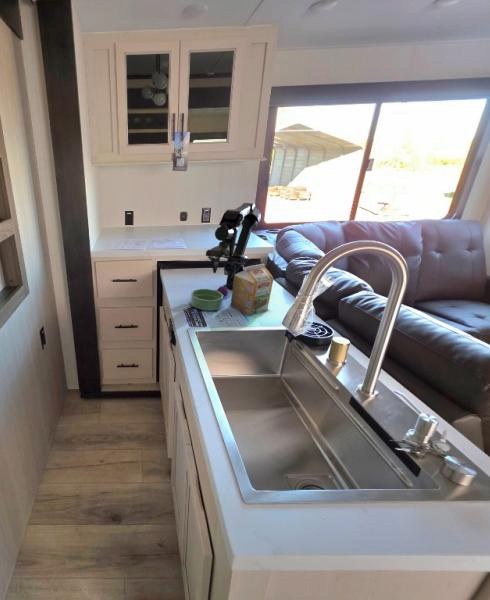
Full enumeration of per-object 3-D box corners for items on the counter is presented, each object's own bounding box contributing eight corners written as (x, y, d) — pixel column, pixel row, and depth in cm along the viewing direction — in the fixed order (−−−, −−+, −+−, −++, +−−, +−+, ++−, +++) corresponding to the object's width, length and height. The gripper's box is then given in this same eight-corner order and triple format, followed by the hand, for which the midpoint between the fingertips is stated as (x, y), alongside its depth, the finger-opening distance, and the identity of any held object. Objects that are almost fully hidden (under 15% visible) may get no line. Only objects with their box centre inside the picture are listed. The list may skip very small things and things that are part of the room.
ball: (221, 293, 148) (222, 284, 146) (229, 297, 145) (231, 287, 143) (214, 296, 146) (215, 286, 144) (222, 299, 142) (224, 289, 140)
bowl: (205, 296, 145) (206, 286, 143) (228, 306, 135) (229, 295, 133) (184, 303, 138) (185, 293, 136) (207, 314, 128) (208, 303, 126)
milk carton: (249, 315, 127) (256, 271, 120) (230, 305, 136) (236, 263, 128) (267, 310, 132) (275, 267, 124) (247, 301, 140) (254, 260, 133)
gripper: (200, 236, 138) (194, 271, 143) (235, 243, 124) (228, 281, 128) (216, 237, 145) (210, 270, 149) (251, 243, 130) (244, 279, 135)
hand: (222, 275), depth 140 cm, fingers open, 9 cm apart
